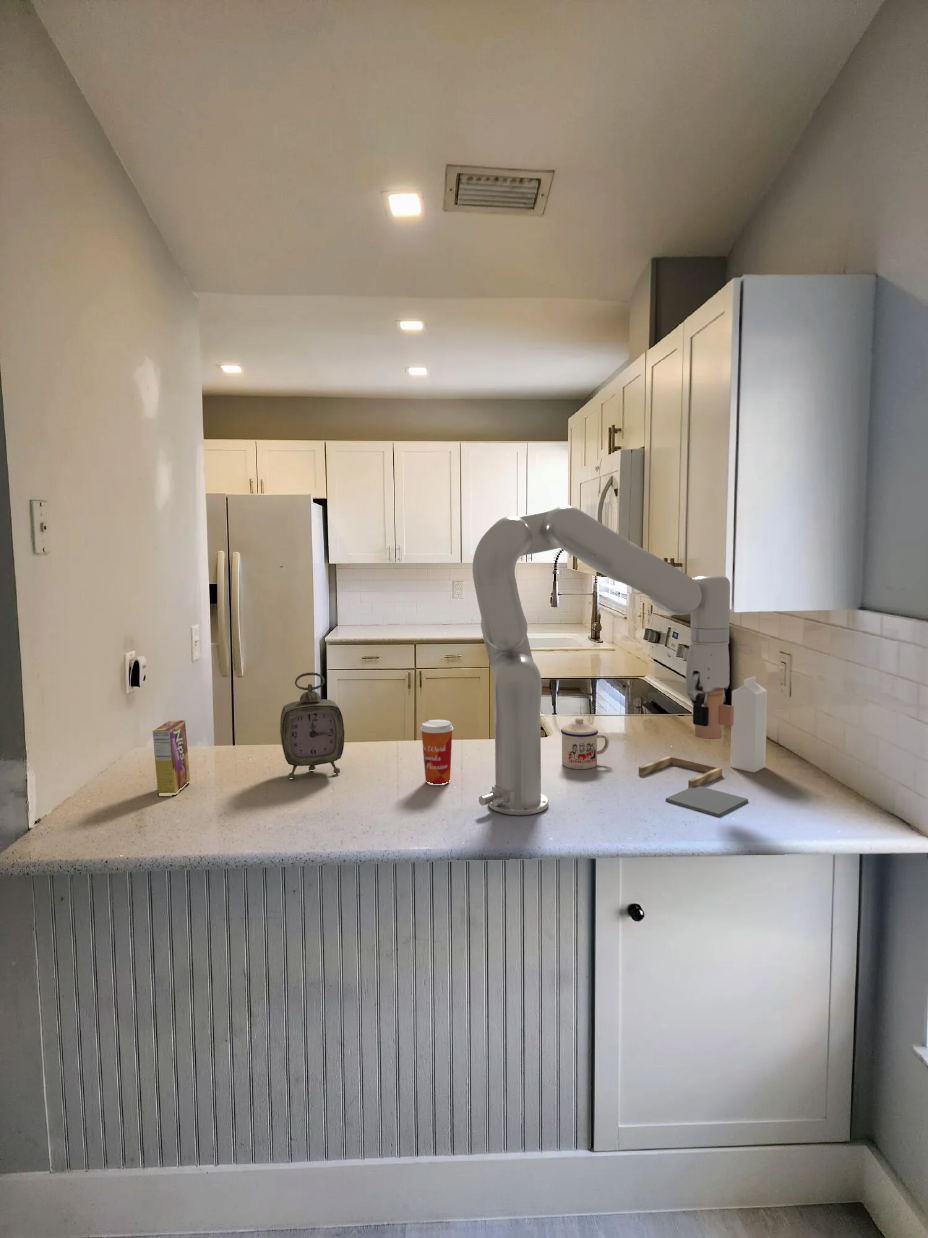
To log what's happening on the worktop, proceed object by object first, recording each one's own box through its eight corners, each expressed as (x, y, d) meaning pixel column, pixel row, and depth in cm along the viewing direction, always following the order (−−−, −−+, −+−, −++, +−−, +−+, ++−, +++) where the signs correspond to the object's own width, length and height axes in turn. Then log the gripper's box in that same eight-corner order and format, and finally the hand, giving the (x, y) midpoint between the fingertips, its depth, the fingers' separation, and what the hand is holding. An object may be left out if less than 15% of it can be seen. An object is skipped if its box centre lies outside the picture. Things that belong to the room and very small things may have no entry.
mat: (718, 816, 137) (718, 814, 137) (665, 801, 146) (665, 798, 146) (747, 801, 145) (748, 799, 145) (695, 787, 154) (695, 785, 154)
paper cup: (415, 784, 159) (413, 725, 158) (432, 775, 166) (430, 717, 165) (444, 789, 156) (443, 728, 154) (460, 779, 162) (459, 721, 161)
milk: (765, 767, 168) (768, 677, 166) (754, 773, 164) (757, 681, 162) (741, 762, 172) (743, 674, 170) (729, 767, 168) (732, 677, 166)
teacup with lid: (566, 771, 167) (566, 723, 166) (556, 760, 176) (556, 715, 175) (614, 768, 169) (614, 721, 168) (602, 757, 178) (602, 712, 177)
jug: (688, 735, 145) (689, 688, 144) (702, 730, 149) (703, 684, 148) (724, 743, 139) (725, 694, 138) (738, 737, 143) (739, 689, 142)
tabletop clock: (283, 783, 162) (279, 677, 160) (281, 771, 171) (277, 671, 168) (345, 776, 167) (342, 673, 164) (340, 765, 175) (337, 667, 173)
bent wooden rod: (692, 789, 153) (692, 781, 153) (638, 774, 164) (638, 767, 164) (723, 775, 162) (723, 768, 162) (670, 762, 173) (670, 755, 172)
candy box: (172, 783, 163) (168, 720, 162) (190, 783, 163) (187, 719, 162) (156, 797, 154) (151, 730, 153) (175, 796, 154) (171, 729, 153)
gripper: (714, 630, 151) (712, 712, 153) (670, 638, 140) (669, 726, 141) (747, 633, 145) (745, 718, 147) (704, 641, 134) (703, 733, 136)
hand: (708, 721), depth 144 cm, fingers closed on jug, 5 cm apart
